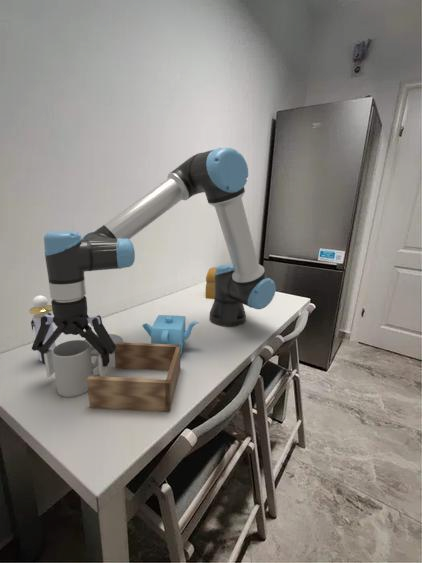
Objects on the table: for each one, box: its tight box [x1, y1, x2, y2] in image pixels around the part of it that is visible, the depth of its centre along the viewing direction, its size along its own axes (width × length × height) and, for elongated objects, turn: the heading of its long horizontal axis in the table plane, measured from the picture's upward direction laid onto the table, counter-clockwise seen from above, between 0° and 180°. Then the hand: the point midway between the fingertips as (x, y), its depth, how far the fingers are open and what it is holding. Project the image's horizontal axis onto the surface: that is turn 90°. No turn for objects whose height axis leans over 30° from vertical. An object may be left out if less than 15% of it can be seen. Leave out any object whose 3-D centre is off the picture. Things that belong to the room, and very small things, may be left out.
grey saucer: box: [83, 333, 124, 356], centre depth 91 cm, size 13×13×1 cm
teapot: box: [141, 314, 200, 356], centre depth 89 cm, size 16×18×11 cm
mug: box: [52, 339, 100, 398], centre depth 71 cm, size 12×8×11 cm
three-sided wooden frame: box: [87, 341, 181, 413], centre depth 71 cm, size 18×17×8 cm
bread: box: [205, 266, 218, 300], centre depth 143 cm, size 24×13×15 cm, turn 84°
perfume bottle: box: [28, 294, 57, 362], centre depth 80 cm, size 6×6×20 cm
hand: (77, 375), depth 72 cm, fingers open, 13 cm apart
